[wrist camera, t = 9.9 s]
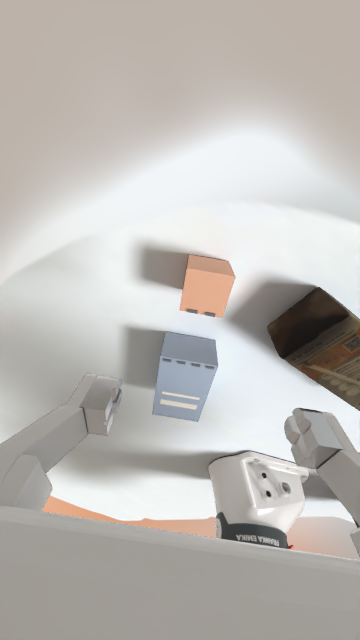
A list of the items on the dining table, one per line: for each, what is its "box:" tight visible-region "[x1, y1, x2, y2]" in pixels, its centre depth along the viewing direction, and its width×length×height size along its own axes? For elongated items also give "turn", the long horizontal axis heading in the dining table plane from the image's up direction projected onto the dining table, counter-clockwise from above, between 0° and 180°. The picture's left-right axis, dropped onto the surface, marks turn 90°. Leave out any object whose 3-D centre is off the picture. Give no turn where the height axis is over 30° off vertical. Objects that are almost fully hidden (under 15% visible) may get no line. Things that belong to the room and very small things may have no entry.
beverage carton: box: [267, 287, 360, 411], centre depth 24 cm, size 8×19×7 cm, turn 55°
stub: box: [180, 254, 235, 318], centre depth 21 cm, size 4×4×5 cm
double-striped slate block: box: [152, 332, 218, 422], centre depth 29 cm, size 7×12×5 cm, turn 171°
